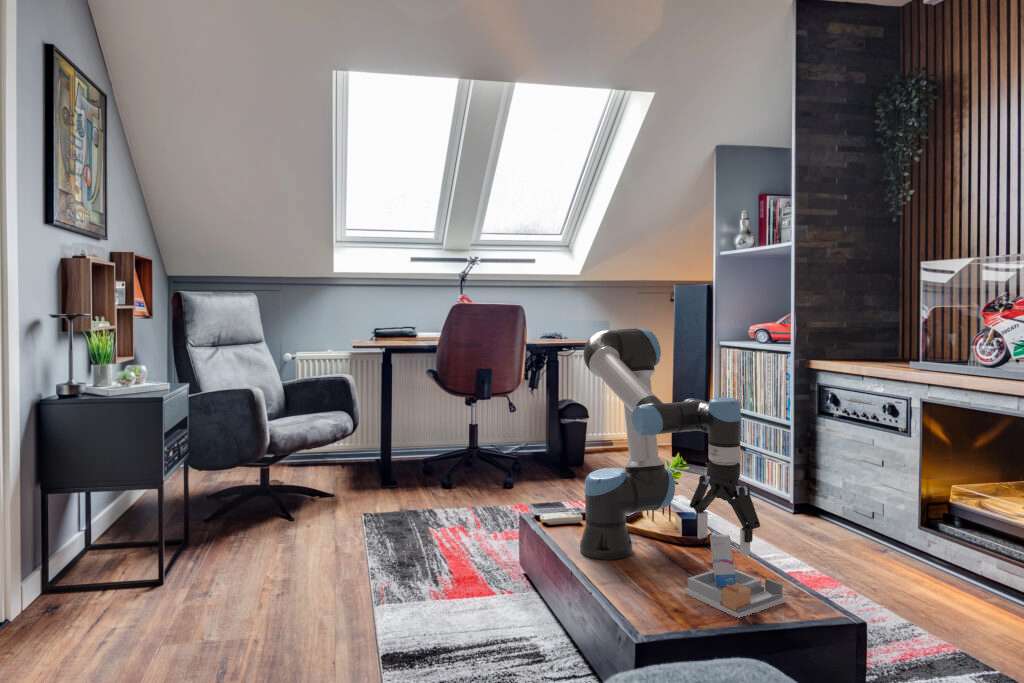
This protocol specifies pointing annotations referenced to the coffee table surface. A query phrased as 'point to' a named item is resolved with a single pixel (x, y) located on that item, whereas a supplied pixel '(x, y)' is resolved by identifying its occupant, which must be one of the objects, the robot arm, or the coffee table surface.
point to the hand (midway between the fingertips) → (723, 545)
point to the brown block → (736, 596)
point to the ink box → (722, 560)
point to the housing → (712, 595)
